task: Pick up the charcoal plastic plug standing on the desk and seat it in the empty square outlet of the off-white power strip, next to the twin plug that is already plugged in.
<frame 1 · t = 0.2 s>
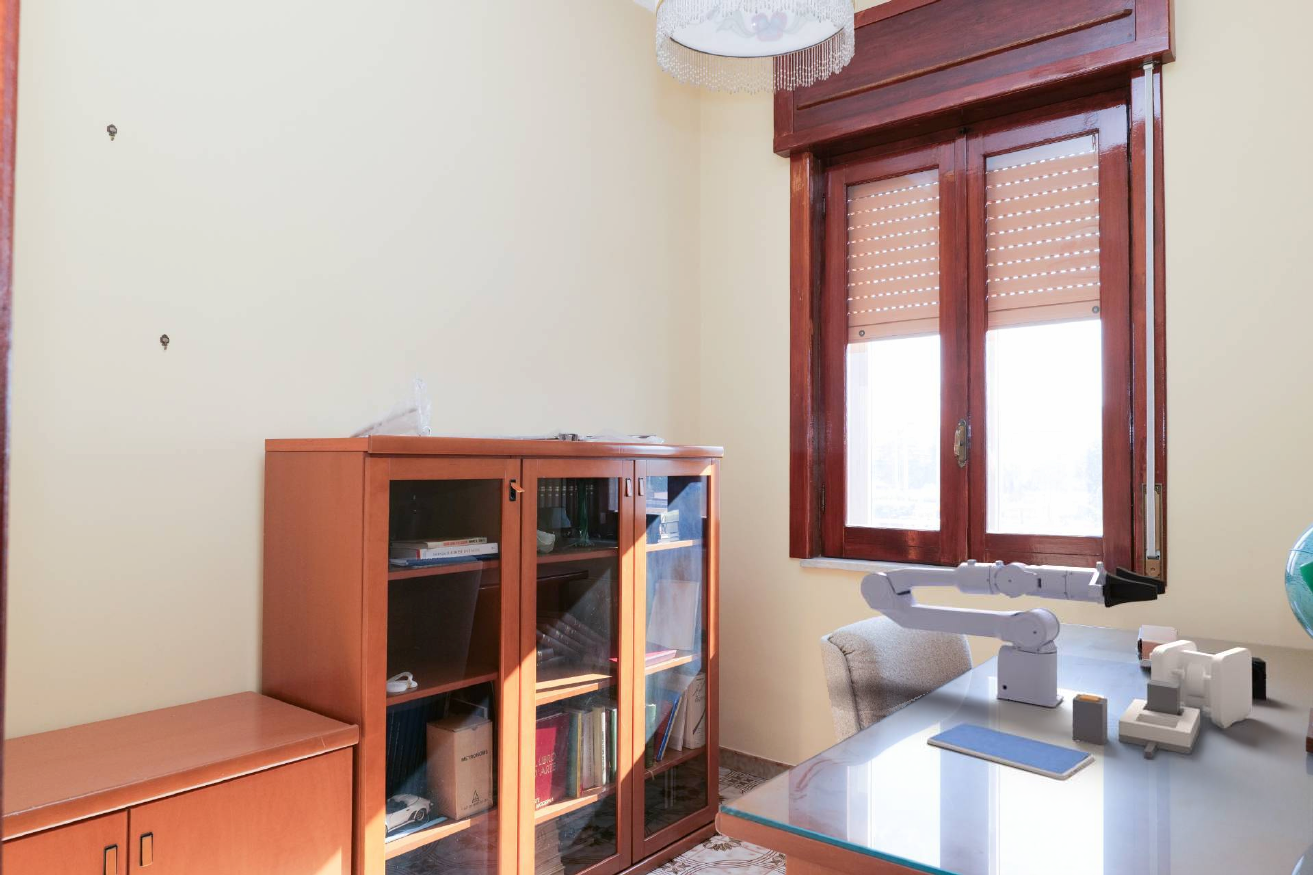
hand: (1161, 590, 134), 21 cm above the table, tool horizontal, fingers open, 7 cm apart
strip: (1160, 734, 127), on the table
tablet computer: (1008, 756, 117), on the table
plug: (1090, 739, 124), on the table
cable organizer: (1200, 718, 137), on the table
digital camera: (1230, 696, 152), on the table
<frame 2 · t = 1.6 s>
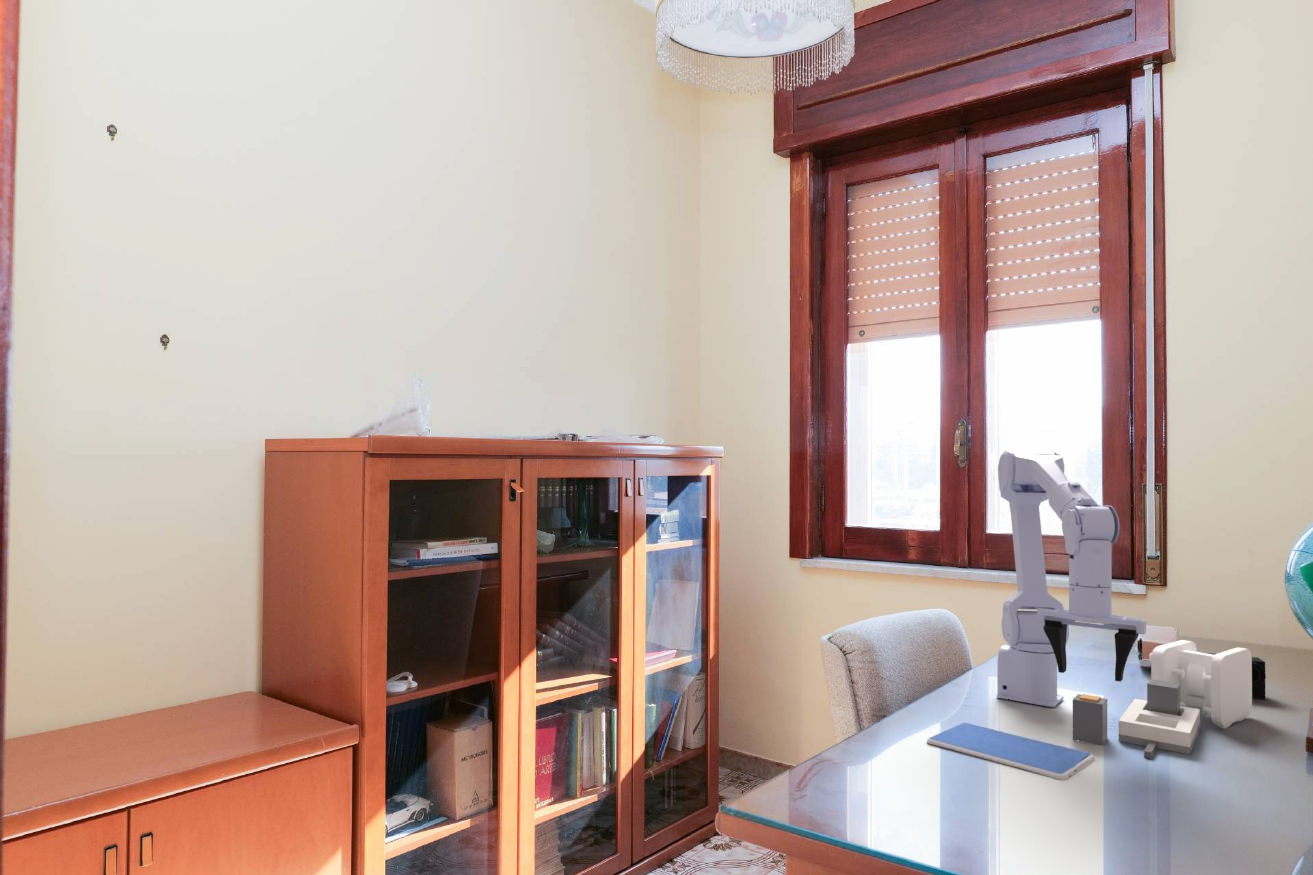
hand: (1090, 675, 124), 9 cm above the table, tool pointing down, fingers open, 7 cm apart
nothing on the table moved.
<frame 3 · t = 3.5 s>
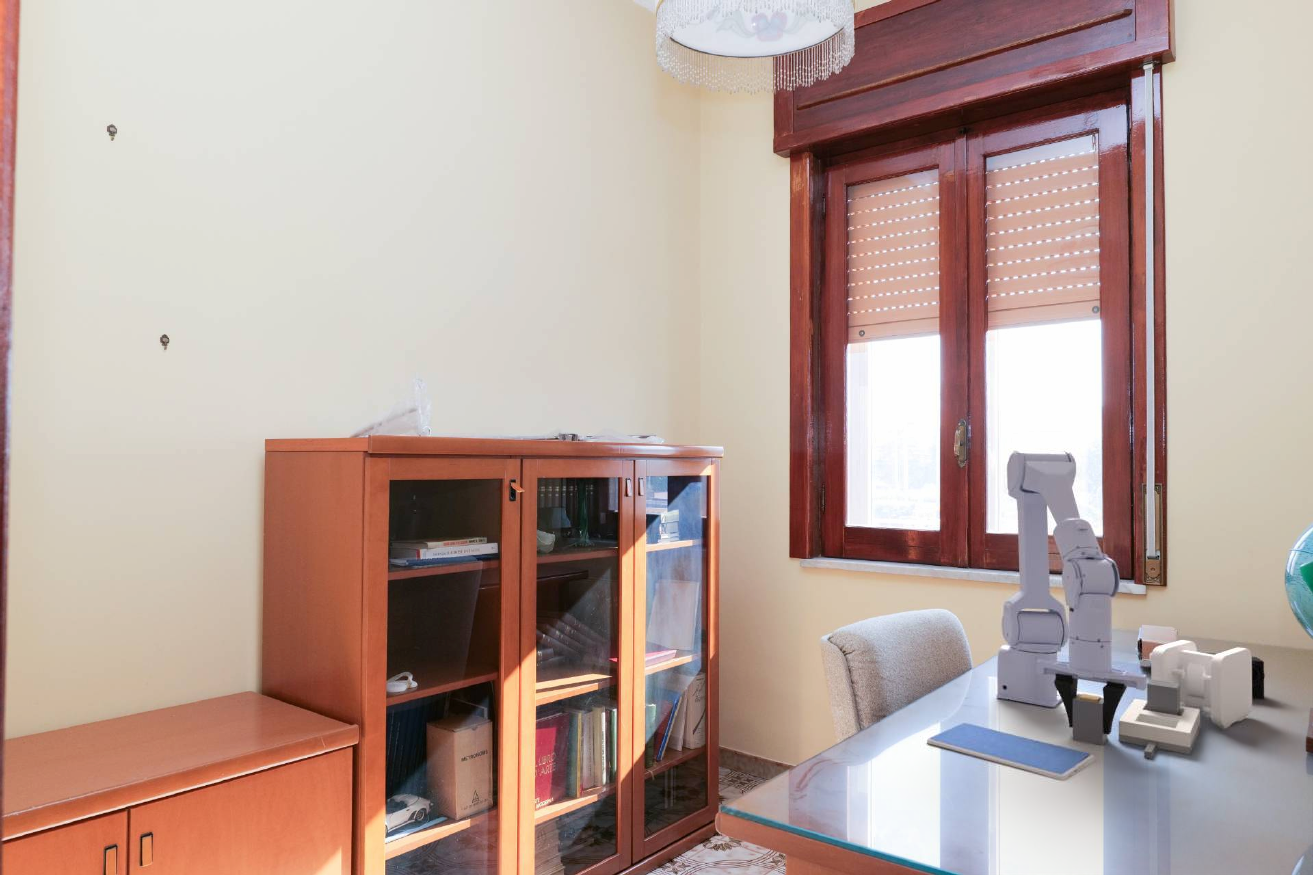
hand: (1090, 729, 124), 1 cm above the table, tool pointing down, fingers closed on plug, 4 cm apart
plug: (1090, 738, 124), on the table, touching gripper
everything else where it was.
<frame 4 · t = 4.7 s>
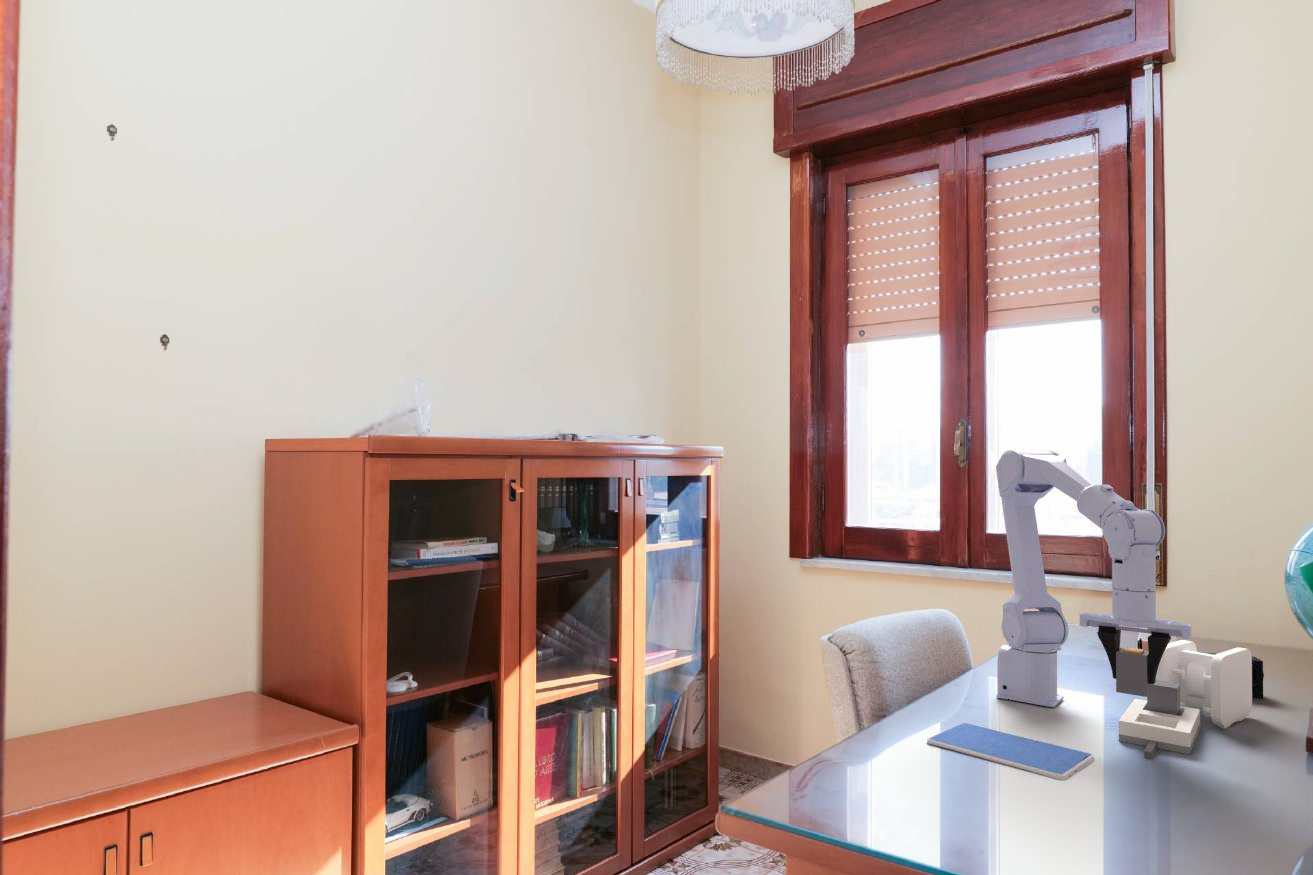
hand: (1134, 680, 124), 9 cm above the table, tool pointing down, fingers closed on plug, 4 cm apart
plug: (1133, 691, 124), point 7 cm above the table, touching gripper
everything else where it was.
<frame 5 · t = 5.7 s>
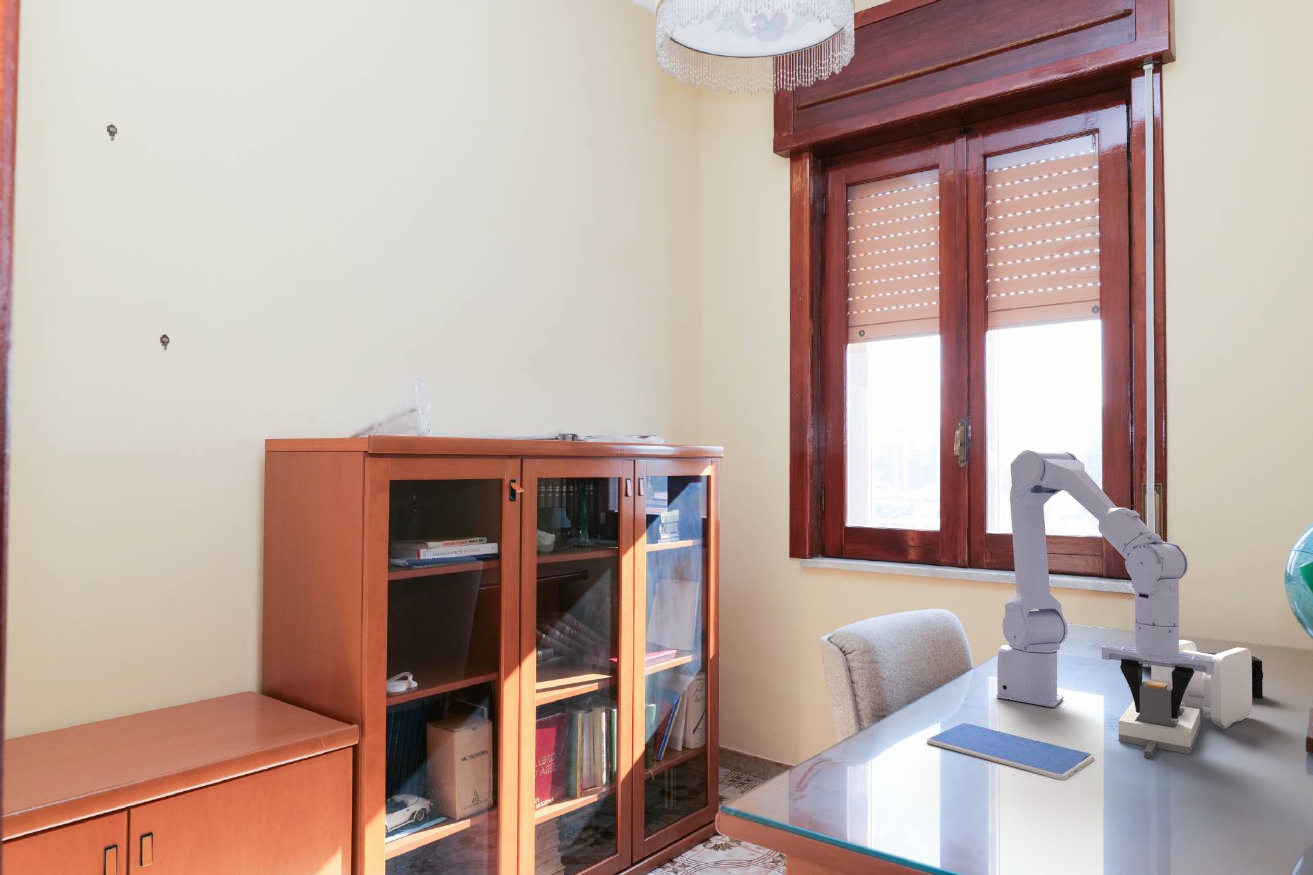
hand: (1157, 714, 124), 4 cm above the table, tool pointing down, fingers closed on plug, 4 cm apart
plug: (1157, 726, 123), point 2 cm above the table, touching gripper
everything else where it was.
when the fingers open (3 cm above the table, at t = 6.2 s): plug stays where it is, resting on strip.
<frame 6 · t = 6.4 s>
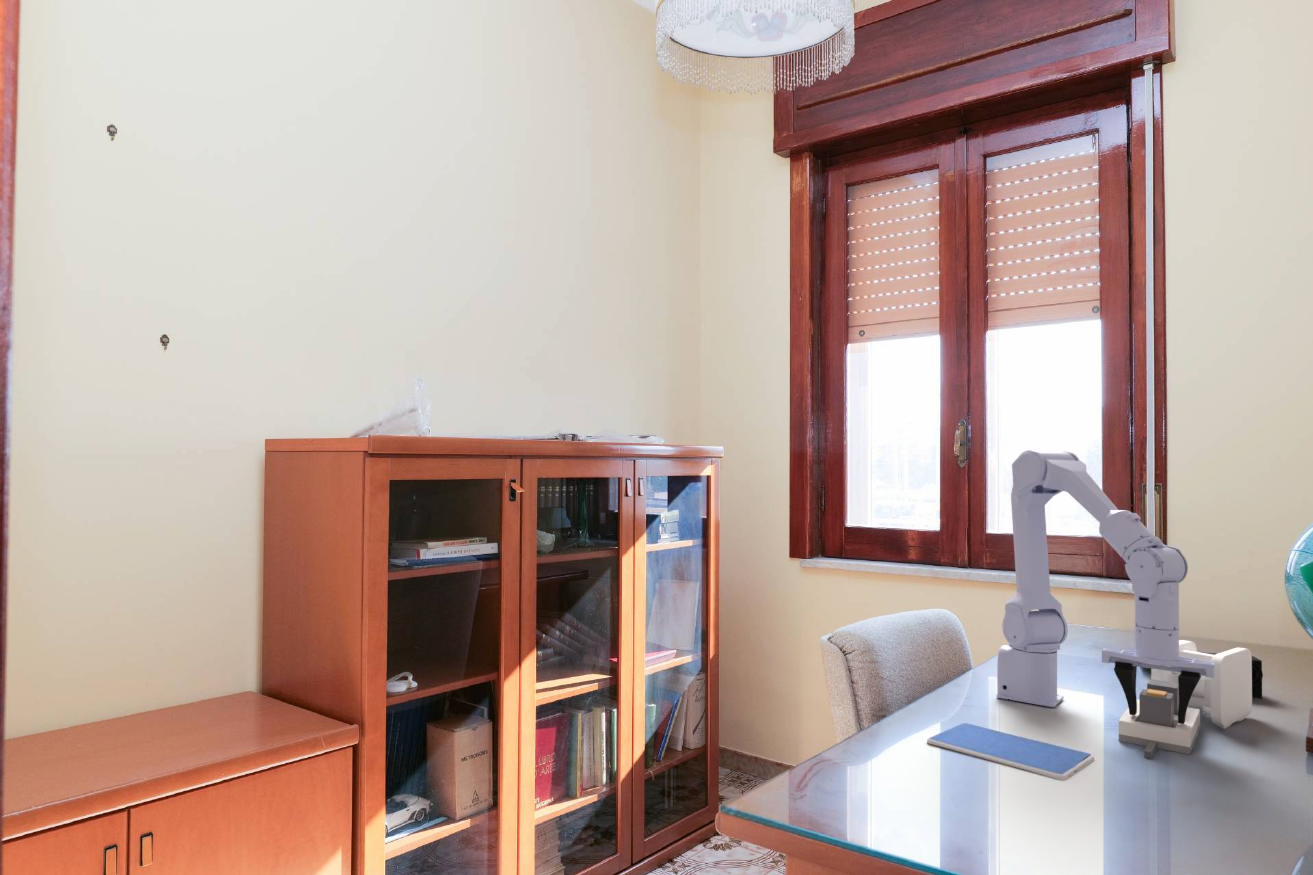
hand: (1157, 717, 124), 3 cm above the table, tool pointing down, fingers open, 6 cm apart
plug: (1156, 734, 123), point 1 cm above the table, touching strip
everything else where it was.
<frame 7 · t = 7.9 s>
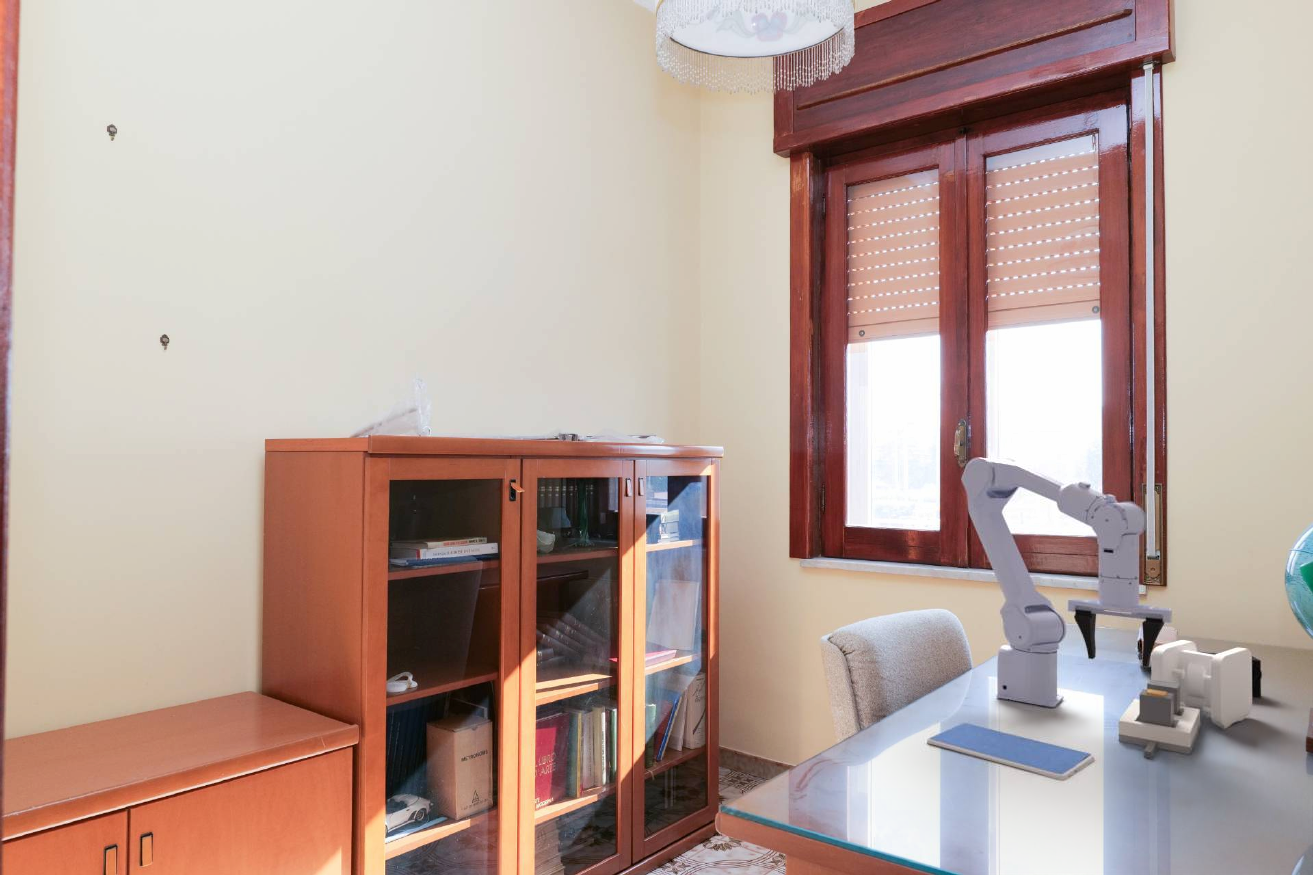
hand: (1118, 661, 132), 10 cm above the table, tool pointing down, fingers open, 7 cm apart
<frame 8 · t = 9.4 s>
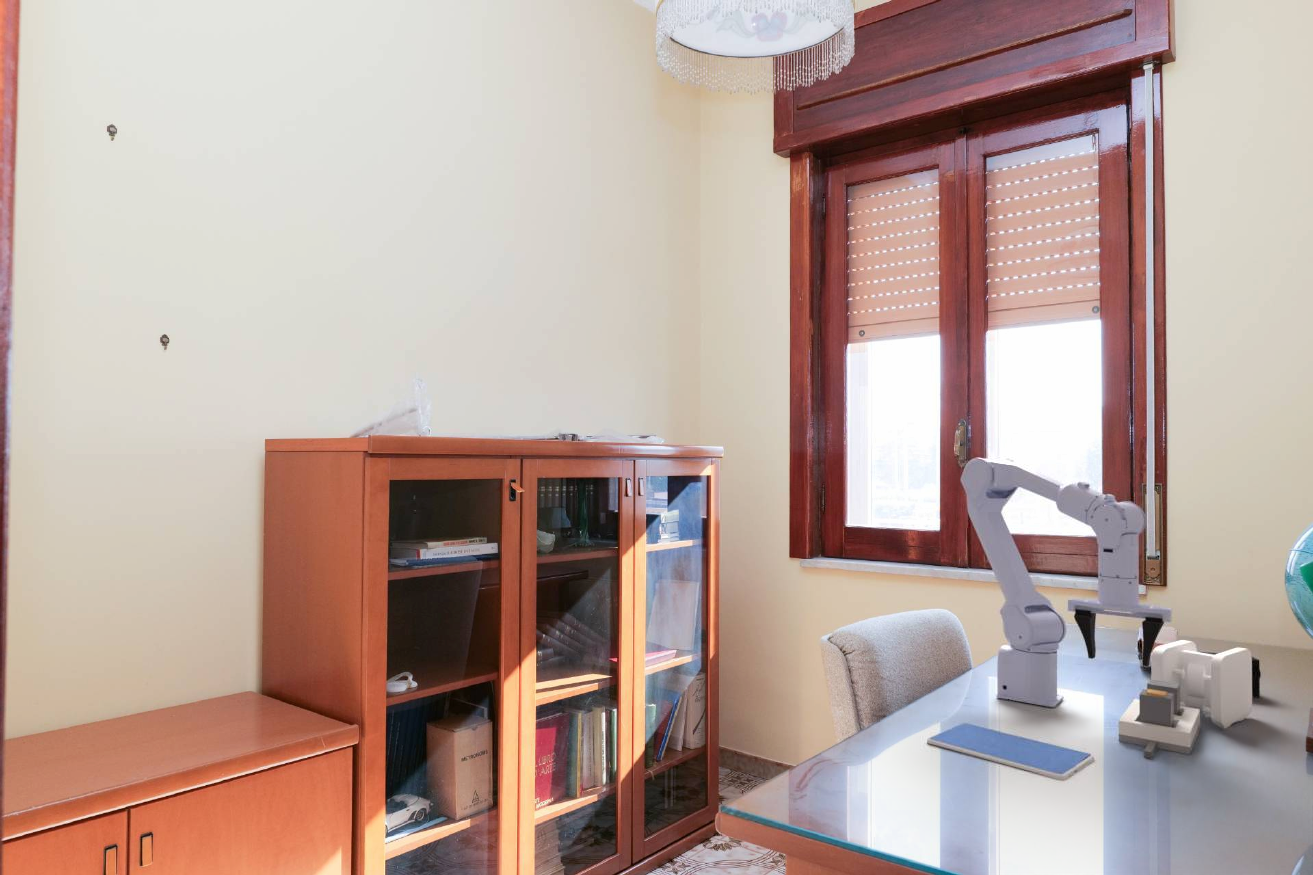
hand: (1118, 661, 132), 10 cm above the table, tool pointing down, fingers open, 7 cm apart
at the end: plug 0.2 cm from the target spot on the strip, point 1.0 cm above the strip's base; plug tilted 0°; the gripper is holding nothing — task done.
